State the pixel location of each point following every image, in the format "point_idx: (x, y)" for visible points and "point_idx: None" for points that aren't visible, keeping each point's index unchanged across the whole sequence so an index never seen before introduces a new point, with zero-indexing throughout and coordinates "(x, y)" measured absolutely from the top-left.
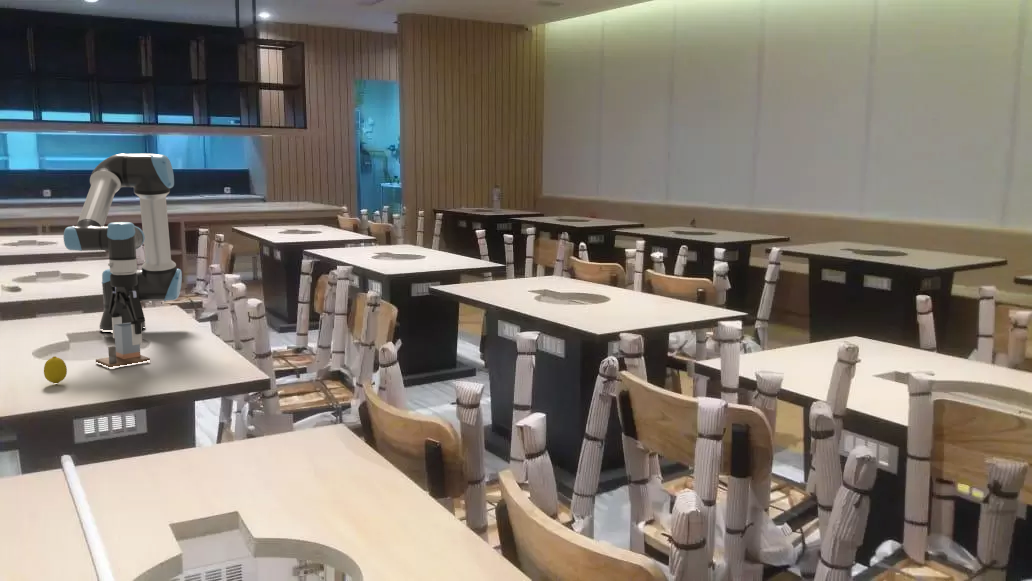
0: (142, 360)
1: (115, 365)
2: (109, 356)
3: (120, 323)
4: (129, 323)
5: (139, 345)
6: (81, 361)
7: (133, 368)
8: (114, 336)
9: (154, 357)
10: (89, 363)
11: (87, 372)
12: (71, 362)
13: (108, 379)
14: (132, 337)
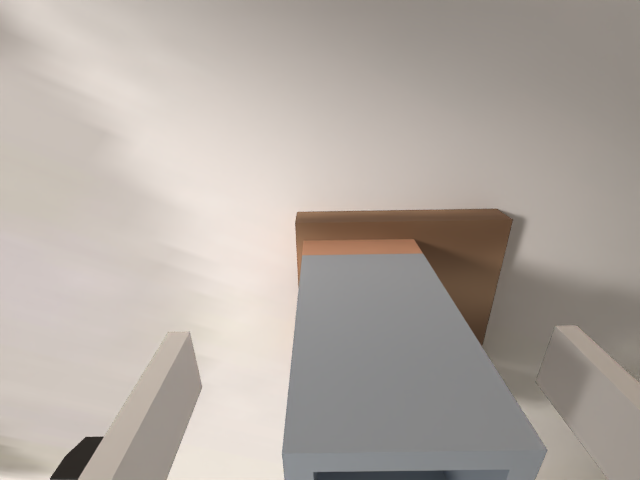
0: (499, 261)
1: None
2: None
3: (125, 473)
4: (313, 470)
5: (437, 279)
6: (207, 404)
7: (525, 313)
8: (197, 397)
9: (377, 120)
10: (270, 396)
11: None
12: (202, 430)
13: None
14: (589, 440)
